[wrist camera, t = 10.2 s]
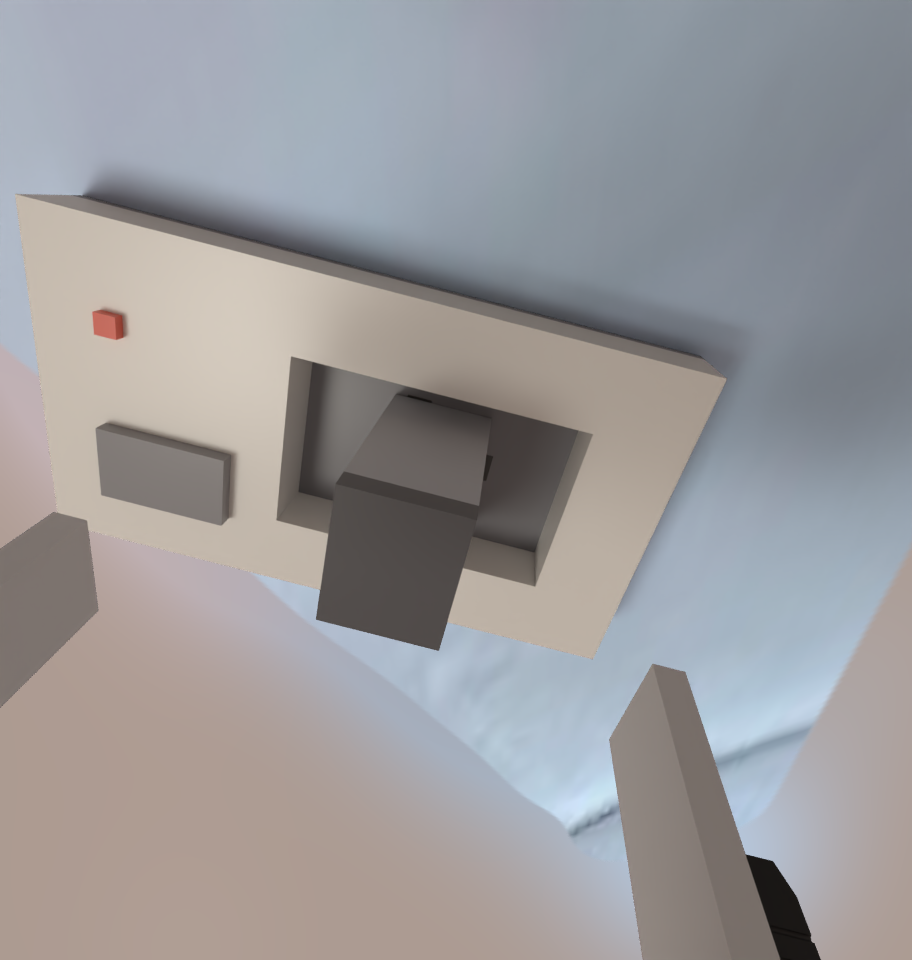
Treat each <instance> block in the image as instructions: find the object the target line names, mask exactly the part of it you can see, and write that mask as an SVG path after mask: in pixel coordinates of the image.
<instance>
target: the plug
mask: <svg viewBox="0 0 912 960" xmlns="http://www.w3.org/2000/svg"><path fill="white" fill-rule="evenodd" d="M491 420H492V419H491V418H487V417H483V416H479V415H475V414H471V413H467V412H463V411H460V410H456V409H452V408H448V407H444V406H440V405H436V404H432V403H428V402H425V401H421V400H417V399H413V398H409V397H405V396H401V395H397V394H395V396H394V397H393V399H392V400H391V402H390V403H389V405H388V406H387V408H386V409H385V411H384V412H383V414H382V415H381V417H380V418H379V420H378V421H377V423H376V424H375V426H374V427H373V429H372V430H371V432H370V433H369V435H368V436H367V438H366V439H365V441H364V442H363V444H362V445H361V447H360V448H359V450H358V451H357V453H356V454H355V455H354V457H353V458H352V460H351V461H350V463H349V464H348V466H347V467H346V469H345V470H344V472H343V473H342V475H341V476H340V478H339V479H338V481H337V482H336V484H335V491H334V498H333V505H332V512H331V518H330V525H329V532H328V539H327V546H326V553H325V560H324V567H323V574H322V581H321V588H320V595H319V602H318V609H317V616H316V620H320V621H324V622H328V623H332V624H336V625H339V626H343V627H347V628H351V629H355V630H359V631H363V632H367V633H371V634H375V635H379V636H383V637H387V638H391V639H395V640H398V641H402V642H406V643H410V644H414V645H418V646H422V647H426V648H430V649H434V650H438V651H439V648H440V645H441V641H442V638H443V635H444V631H445V628H446V624H447V621H448V618H449V614H450V611H451V607H452V604H453V600H454V597H455V594H456V590H457V587H458V583H459V580H460V577H461V573H462V570H463V566H464V563H465V560H466V556H467V553H468V549H469V546H470V542H471V539H472V536H473V532H474V529H475V525H476V522H477V517H478V510H479V503H480V496H481V489H482V482H483V475H484V468H485V461H486V454H487V447H488V440H489V434H490V427H491Z"/></svg>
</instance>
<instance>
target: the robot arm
mask: <svg viewBox="0 0 912 960" xmlns="http://www.w3.org/2000/svg"><path fill="white" fill-rule="evenodd" d="M96 612H98V603H97V595H96V587H95V579H94V572H93V564H92V556H91V547H90V539H89V531H88V524H87V520H84V519H80V518H76V517H72V516H68V515H64V514H60V513H56V512H53V513H51V514H50V515H48V516H47V517H46V518H44V519H43V520H41V521H40V522H38V523H37V524H35V525H34V526H33V527H31V528H30V529H28V530H27V531H25V532H24V533H22V534H21V535H19V536H18V537H16V538H15V539H13V540H12V541H11V542H9V543H8V544H6V545H5V546H3V547H2V548H0V708H1V706H3V704H5V703H6V702H7V701H8V700H9V699H10V698H11V697H12V696H13V695H14V694H15V693H16V692H17V691H18V689H20V687H22V686H23V685H24V684H25V683H26V682H27V681H28V680H29V679H30V678H31V677H32V676H33V675H34V674H35V673H36V672H37V671H38V670H39V669H40V668H41V667H42V666H43V665H44V664H45V663H46V662H47V661H48V660H49V659H50V658H51V657H52V656H53V655H54V654H55V653H56V652H57V651H58V650H59V649H60V648H61V647H62V646H63V645H64V644H65V643H66V642H67V641H68V640H69V639H70V638H71V637H72V636H73V635H74V634H75V633H76V632H77V631H78V630H79V629H80V628H81V627H82V626H83V625H84V624H85V623H86V622H87V621H88V620H89V619H90V618H91V617H92V616H93V615H94V614H95V613H96ZM609 741H610V748H611V754H612V761H613V768H614V774H615V781H616V787H617V794H618V800H619V807H620V814H621V820H622V827H623V833H624V840H625V847H626V853H627V860H628V866H629V873H630V879H631V886H632V893H633V899H634V905H635V912H636V918H637V926H638V932H639V939H640V945H641V951H642V958H643V960H821V959H820V957H819V954H818V951H817V949H816V946H815V943H812V941H811V933H810V930H809V928H808V925H807V923H806V920H805V917H804V915H803V912H802V909H801V907H800V904H799V902H798V899H797V897H796V895H795V894H794V892H793V891H792V889H791V888H790V886H789V885H788V883H787V882H786V880H785V879H784V877H783V876H782V874H781V873H780V871H779V870H778V868H777V867H776V865H775V863H774V862H773V861H770V860H766V859H762V858H758V857H754V856H750V855H746V854H745V851H744V848H743V845H742V842H741V839H740V836H739V833H738V830H737V827H736V824H735V821H734V818H733V815H732V812H731V809H730V806H729V803H728V800H727V797H726V794H725V791H724V788H723V785H722V782H721V779H720V776H719V773H718V770H717V767H716V763H715V760H714V757H713V754H712V751H711V748H710V745H709V742H708V739H707V736H706V733H705V730H704V727H703V724H702V721H701V718H700V715H699V712H698V709H697V706H696V703H695V700H694V697H693V694H692V691H691V688H690V685H689V682H688V679H687V676H686V673H685V672H683V671H679V670H675V669H671V668H667V667H663V666H659V665H655V664H652V666H651V668H650V669H649V671H648V673H647V675H646V676H645V678H644V680H643V681H642V683H641V685H640V687H639V688H638V690H637V692H636V694H635V695H634V697H633V699H632V701H631V702H630V704H629V706H628V708H627V709H626V711H625V713H624V715H623V716H622V718H621V720H620V721H619V723H618V725H617V727H616V728H615V730H614V732H613V734H612V735H611V737H610V739H609Z"/></svg>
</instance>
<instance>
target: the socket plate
mask: <svg viewBox="0 0 912 960" xmlns="http://www.w3.org/2000/svg"><path fill="white" fill-rule="evenodd" d="M15 196H16V204H17V211H18V219H19V226H20V234H21V242H22V249H23V257H24V264H25V272H26V279H27V287H28V294H29V302H30V309H31V317H32V324H33V332H34V340H35V347H36V355H37V362H38V370H39V377H40V385H41V392H42V399H43V407H44V415H45V422H46V430H47V437H48V445H49V453H50V460H51V468H52V475H53V483H54V490H55V498H56V505H57V513H60V514H64V515H68V516H72V517H76V518H80V519H84V520H87V524H88V531H92V532H96V533H100V534H104V535H108V536H112V537H115V538H119V539H123V540H127V541H131V542H135V543H139V544H143V545H147V546H151V547H155V548H159V549H163V550H167V551H171V552H175V553H178V554H182V555H187V556H190V557H194V558H198V559H202V560H206V561H209V562H213V563H217V564H221V565H225V566H229V567H233V568H237V569H241V570H245V571H249V572H253V573H257V574H260V575H264V576H268V577H272V578H276V579H280V580H284V581H288V582H292V583H296V584H300V585H304V586H308V587H311V588H315V589H319V590H320V588H321V581H322V574H323V567H324V560H325V553H326V546H327V539H328V532H329V525H330V518H331V512H332V505H333V498H334V491H335V484H336V482H337V481H338V479H339V478H340V476H341V475H342V473H343V472H344V470H345V469H346V467H347V466H348V464H349V463H350V461H351V460H352V458H353V457H354V455H355V454H356V453H357V451H358V450H359V448H360V447H361V445H362V444H363V442H364V441H365V439H366V438H367V436H368V435H369V433H370V432H371V430H372V429H373V427H374V426H375V424H376V423H377V421H378V420H379V418H380V417H381V415H382V414H383V412H384V411H385V409H386V408H387V406H388V405H389V403H390V402H391V400H392V399H393V397H394V396H395V394H397V395H401V396H405V397H409V398H413V399H417V400H421V401H425V402H428V403H432V404H436V405H440V406H444V407H448V408H452V409H456V410H460V411H463V412H467V413H471V414H475V415H479V416H483V417H487V418H491V419H492V420H491V427H490V434H489V440H488V447H487V454H486V461H485V468H484V475H483V482H482V489H481V496H480V503H479V510H478V517H477V522H476V525H475V529H474V532H473V536H472V539H471V542H470V546H469V549H468V553H467V556H466V560H465V563H464V566H463V570H462V573H461V577H460V580H459V583H458V587H457V590H456V594H455V597H454V600H453V604H452V607H451V611H450V614H449V618H448V621H447V622H449V623H453V624H457V625H461V626H464V627H468V628H472V629H476V630H480V631H484V632H488V633H492V634H496V635H500V636H504V637H508V638H511V639H515V640H519V641H523V642H527V643H531V644H535V645H539V646H543V647H547V648H551V649H555V650H559V651H562V652H566V653H570V654H574V655H578V656H582V657H586V658H590V659H593V658H594V656H595V654H596V652H597V649H598V647H599V645H600V643H601V641H602V639H603V637H604V635H605V633H606V631H607V629H608V627H609V624H610V622H611V620H612V618H613V616H614V614H615V612H616V610H617V608H618V606H619V604H620V601H621V599H622V597H623V595H624V593H625V591H626V589H627V587H628V585H629V583H630V581H631V579H632V576H633V574H634V572H635V570H636V568H637V566H638V564H639V562H640V560H641V558H642V556H643V553H644V551H645V549H646V547H647V545H648V543H649V541H650V539H651V537H652V535H653V533H654V531H655V528H656V526H657V524H658V522H659V520H660V518H661V516H662V514H663V512H664V510H665V508H666V505H667V503H668V501H669V499H670V497H671V495H672V493H673V491H674V489H675V487H676V485H677V483H678V480H679V478H680V476H681V474H682V472H683V470H684V468H685V466H686V464H687V462H688V460H689V457H690V455H691V453H692V451H693V449H694V447H695V445H696V443H697V441H698V439H699V437H700V435H701V432H702V430H703V428H704V426H705V424H706V422H707V420H708V418H709V416H710V414H711V412H712V409H713V407H714V405H715V403H716V401H717V399H718V397H719V395H720V393H721V391H722V389H723V387H724V384H725V382H726V380H727V378H726V377H724V376H723V375H722V374H721V373H720V372H718V371H717V370H716V369H715V368H714V367H713V366H711V365H710V364H709V363H708V362H707V361H706V360H704V359H703V358H702V357H701V356H697V355H693V354H690V353H686V352H682V351H678V350H674V349H670V348H667V347H663V346H659V345H655V344H651V343H647V342H643V341H640V340H636V339H632V338H628V337H624V336H620V335H617V334H613V333H609V332H605V331H601V330H597V329H593V328H590V327H586V326H582V325H578V324H574V323H570V322H566V321H563V320H559V319H555V318H551V317H547V316H543V315H540V314H536V313H532V312H528V311H524V310H520V309H516V308H513V307H509V306H505V305H501V304H497V303H493V302H489V301H486V300H482V299H478V298H474V297H470V296H466V295H463V294H459V293H455V292H451V291H447V290H443V289H439V288H436V287H432V286H428V285H424V284H420V283H416V282H412V281H409V280H405V279H401V278H397V277H393V276H389V275H386V274H382V273H378V272H374V271H370V270H366V269H362V268H359V267H355V266H351V265H347V264H343V263H339V262H336V261H332V260H328V259H324V258H320V257H316V256H312V255H309V254H305V253H301V252H297V251H293V250H289V249H285V248H282V247H278V246H274V245H270V244H266V243H262V242H259V241H255V240H251V239H247V238H243V237H239V236H235V235H232V234H228V233H224V232H220V231H216V230H212V229H208V228H205V227H201V226H197V225H193V224H189V223H185V222H182V221H178V220H174V219H170V218H166V217H162V216H158V215H155V214H151V213H147V212H143V211H139V210H135V209H131V208H128V207H124V206H120V205H116V204H112V203H108V202H105V201H101V200H97V199H93V198H89V197H85V196H81V195H35V194H15Z"/></svg>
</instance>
